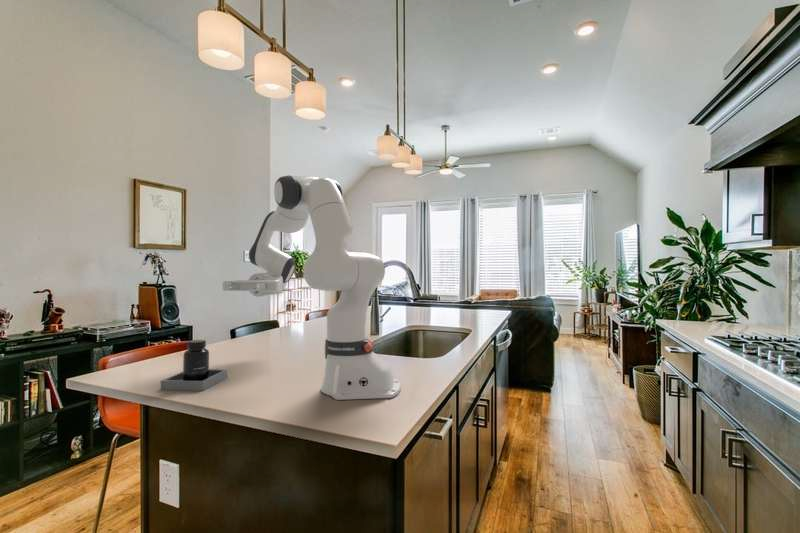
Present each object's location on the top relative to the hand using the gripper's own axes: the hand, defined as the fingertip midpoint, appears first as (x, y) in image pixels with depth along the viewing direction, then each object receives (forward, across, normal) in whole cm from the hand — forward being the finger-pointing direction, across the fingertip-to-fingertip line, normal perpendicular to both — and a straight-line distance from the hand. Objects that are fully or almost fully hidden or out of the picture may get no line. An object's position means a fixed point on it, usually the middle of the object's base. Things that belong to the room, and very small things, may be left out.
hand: (241, 286), depth 129 cm
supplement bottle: (+16, -6, +28) cm, 32 cm away
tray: (+16, -6, +28) cm, 33 cm away
